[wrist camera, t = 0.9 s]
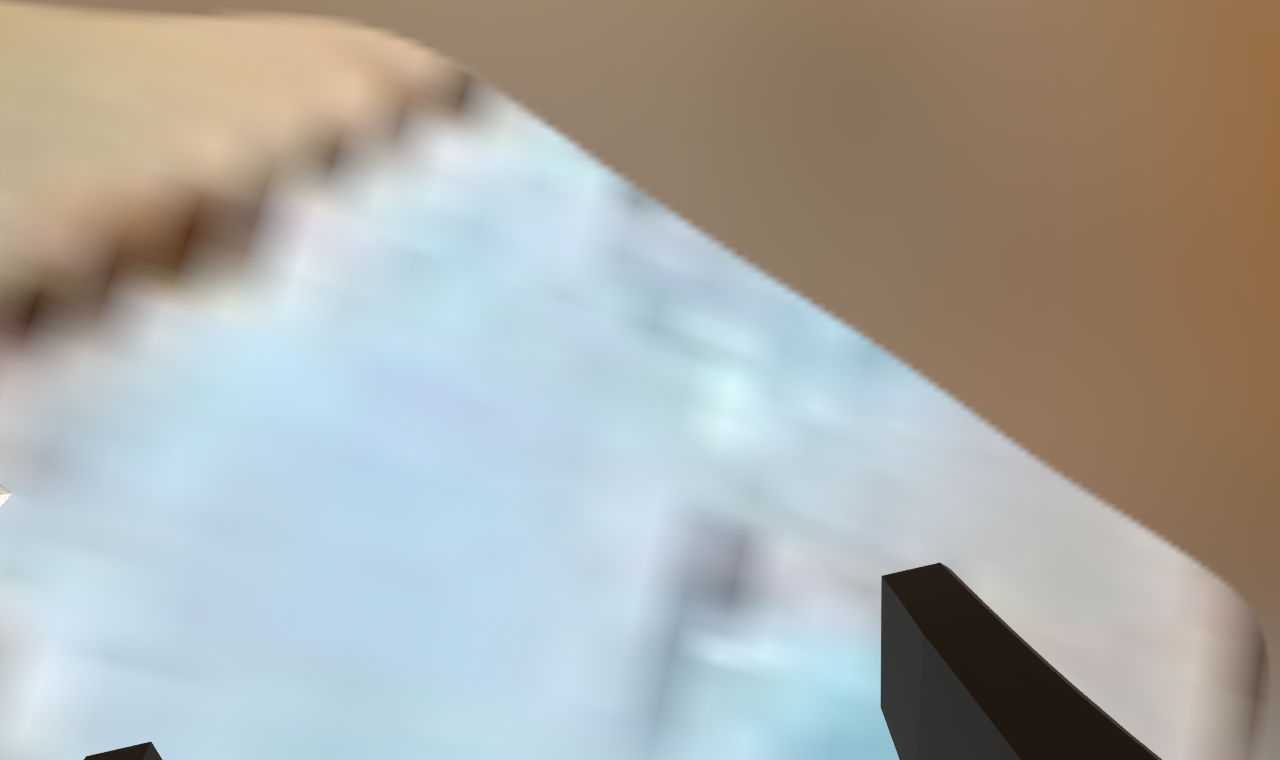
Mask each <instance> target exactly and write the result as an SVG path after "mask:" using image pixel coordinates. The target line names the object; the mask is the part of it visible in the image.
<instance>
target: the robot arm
mask: <svg viewBox="0 0 1280 760" xmlns="http://www.w3.org/2000/svg"><path fill="white" fill-rule="evenodd" d="M881 709H882V712H883V715H884V717H885V720H886V723H887V726H888V728H889V731H890V734H891V737H892V739H893V742H894V745H895V748H896V751H897V753H898V756H899V759H900V760H1162V759H1161V758H1159V757H1158V756H1157V755H1156V754H1155V753H1153V752H1152V751H1151V750H1150V749H1148V748H1147V747H1146V746H1145V745H1143V744H1142V743H1141V742H1140V741H1139V740H1137V739H1136V738H1135V737H1134V736H1132V735H1131V734H1130V733H1129V732H1128V731H1127V730H1125V729H1124V728H1123V727H1122V726H1121V725H1120V724H1118V723H1117V722H1116V721H1115V720H1114V719H1113V718H1111V717H1110V716H1109V715H1108V714H1107V713H1106V712H1104V711H1103V710H1102V709H1101V708H1100V707H1099V706H1097V705H1096V704H1095V703H1094V702H1093V701H1091V700H1090V699H1089V698H1088V697H1087V696H1086V695H1084V694H1083V693H1082V692H1081V691H1080V690H1079V689H1077V688H1076V687H1075V686H1074V685H1073V684H1072V683H1071V682H1069V681H1068V680H1067V679H1066V678H1065V677H1064V676H1063V675H1062V674H1061V673H1059V672H1058V671H1057V670H1056V669H1055V668H1054V667H1053V666H1052V665H1050V664H1049V663H1048V662H1047V661H1046V660H1045V659H1044V658H1043V657H1042V656H1041V655H1040V654H1038V653H1037V652H1036V651H1035V650H1034V649H1033V648H1032V647H1031V646H1030V645H1029V644H1028V643H1027V642H1025V641H1024V640H1023V639H1022V638H1021V637H1020V636H1019V635H1018V634H1017V633H1016V632H1015V631H1014V630H1013V629H1011V628H1010V627H1009V626H1008V625H1007V624H1006V623H1005V622H1004V621H1003V620H1002V619H1001V618H1000V617H999V616H998V615H997V614H996V613H995V612H994V611H993V610H991V609H990V608H989V607H988V606H987V605H986V604H985V603H984V602H983V601H982V600H981V599H980V598H979V597H978V596H977V595H976V594H975V593H974V592H973V591H972V590H971V589H970V588H969V587H968V586H967V585H966V584H965V583H964V582H963V581H962V580H961V579H960V578H959V577H958V576H957V575H956V574H955V573H954V572H953V571H952V570H951V569H949V568H948V567H946V566H945V565H943V564H942V563H937V564H932V565H928V566H923V567H919V568H915V569H910V570H906V571H901V572H897V573H892V574H888V575H884V576H882V602H881ZM84 760H162V758H161V757H160V755H159V754H158V752H157V750H156V749H155V747H154V745H153V744H152V742H148V743H143V744H139V745H135V746H130V747H126V748H121V749H117V750H112V751H108V752H104V753H99V754H95V755H90V756H86V757H85V759H84Z"/></svg>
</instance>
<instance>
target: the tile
mask: <svg viewBox="0 0 1280 760" xmlns="http://www.w3.org/2000/svg"><path fill="white" fill-rule="evenodd" d="M10 495H11V493H10V492H8V491H7V490H5V489H4V488H2V487H0V507H1V506H2V504H3V503H4V502H5V501H6V500H7V498H8V497H9V496H10Z"/></svg>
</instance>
